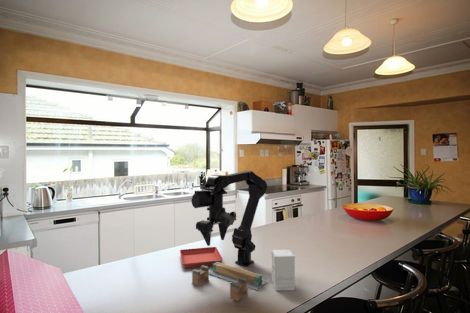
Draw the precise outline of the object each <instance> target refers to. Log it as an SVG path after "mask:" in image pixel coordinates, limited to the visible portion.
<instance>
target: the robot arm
mask: <svg viewBox="0 0 470 313" xmlns="http://www.w3.org/2000/svg"><path fill="white" fill-rule="evenodd" d="M206 179H207V180H206V181H205V184H204V185H203V186H202V189H201V190H194V194H192V197H191V200H190V201H191V204H192V207H193V208H194V209H200V208H206V210H207V211H208V217H206V220H200V221H196V222H195V229H196V230H197V231H199V233H200V234H201V235H202V237H203V239H204V241H205V243H206V245H207V246H208V247H211V239H212V235H211V234H212V233H213V232H214V229H213V228H214V226H215V225H218V230H219V236H220V240H221V241H224V240H225V237H226V234H227V232H228V229H229V227H230V226H233V225H234V223H235V221H236V220H237V213H236V212H235V211H230V212H226V208H225V207H223V206H224V205H223V204H224V195H227V194H228V192H227V191H226V189H225V188H227V187H228V186H229V185H231V184H232V185H233V184H236V183H240V182H241V183H242V182H243V181H244V183H245V184H246V185H247V186H248V189H247V190H248V196H249V197H248V200H247V203H246V206H245V208H244V213H243V215H242V219H241V222H240V224H239V226H238V228H236V227H235V228H234V229H233V233H232V235H231V242H232V243H233V246H234V249H237V260H235V261H234V263H235V264H237V265H240V266H244V267H248V266H250V265H251V264H253V263H254V262H255V261H254V260H252V253H253V252H254V251H255V250H256V245H255V244H254V242H253V241H252V239H253V235H252V230H251V229H252V226H253V222H254V219H255V215H256V213H257V212H256V211H257V210H258V205H259V202H260V199H261V198H262V197H264V195H265V193H266V191H267V189H268V184H267V182H266V181H265V180H264V179H263V178H262V177H260V176H259V175H257V173H255V172H254V171H253V170H243V171H239V172H235V173H230V174H225V175H223V174H211V175H208V178H206Z"/></svg>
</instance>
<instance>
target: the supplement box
mask: <svg viewBox="0 0 470 313" xmlns="http://www.w3.org/2000/svg"><path fill="white" fill-rule="evenodd" d="M295 258H296V256H295V255H294V253H293V252H292V250H291V249H271V283H272V285H273V288H274V290H275V291H277V292H278V291H279V292H280V291H295V290H296V288H295V287H296V286H295V285H296V283H295V281H296V280H295V279H296V276H295V275H296V274H295V273H296V272H295V271H296V270H295V269H296V268H295V267H296V266H295V265H296V262H295V261H296V259H295Z"/></svg>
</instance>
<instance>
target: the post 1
mask: <svg viewBox="0 0 470 313" xmlns="http://www.w3.org/2000/svg"><path fill="white" fill-rule="evenodd" d="M209 268H210V266H204V265H202V266H201V267H200V269H196V268H195V269H192V271H191V277H192V278H191V279H192V280H191V284H192V285H194V286H196V287H200V286H201V285H203V284H205V283H206V282H208V281H209V276H210V275H209V271H210V270H209Z"/></svg>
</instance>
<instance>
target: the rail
mask: <svg viewBox="0 0 470 313" xmlns="http://www.w3.org/2000/svg"><path fill="white" fill-rule="evenodd" d="M212 270H213V272H217V273H220V274H223V275H226V276H229V277H232V278H235V279H238V278H240V277H241V278H244V279H247V283H250V284H253V285H256V286H259V285H260V284H262V280H263V274H261V273H255V272H253V271H249V270H246V269H242V268H239V267H236V266H232V265H229V264H226V263H223V262H221V263H220V262H216V263H214V264H213V266H212Z"/></svg>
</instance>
